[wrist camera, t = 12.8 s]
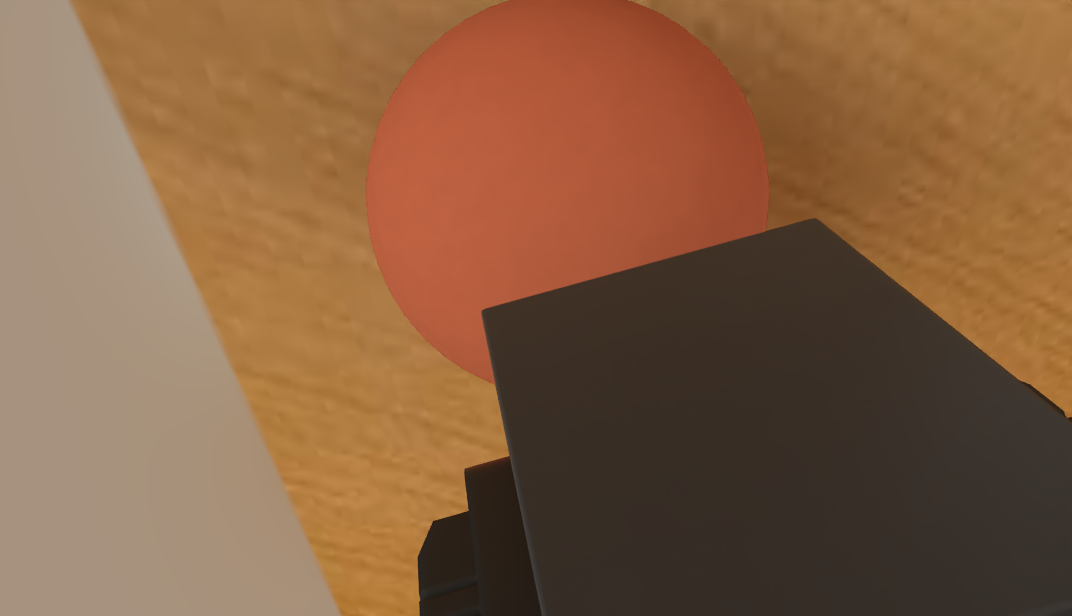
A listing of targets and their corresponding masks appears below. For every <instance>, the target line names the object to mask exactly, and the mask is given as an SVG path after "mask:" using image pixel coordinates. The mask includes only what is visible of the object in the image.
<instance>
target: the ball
mask: <svg viewBox="0 0 1072 616" xmlns="http://www.w3.org/2000/svg"><path fill="white" fill-rule="evenodd" d="M366 207H367V216H368V224H369V231H370V239H371V242H372V246H373V250H374V253H375V257H376V260H377V264H378V266H379V268H380V270H381V273H382V275H383V277H384V279H385V282H386V284H387V286H388V288H389V290H390V292H391V294H392V296H393V298H394V299H395V301H396V302H397V304H398V306H399V307H400V309H401V311H402V312H403V314H404V315H405V316H406V318H407V319H408V320H409V321H410V322H411V324H412V325H413V326H414V327H415V328H416V330H417V331H418V332H419V333H420V334H421V335H422V336H423V337H424V338H425V339H426V340H427V341H428V342H429V343H430V344H431V345H432V346H433V347H434V348H436V349H437V350H438V351H439V352H440V353H441V354H442V355H443V356H445V357H446V358H448V359H449V360H450V361H452V362H453V363H455V364H456V365H458V366H459V367H461V368H462V369H464V370H466V371H468V372H470V373H472V374H474V375H476V376H478V377H480V378H481V379H484V380H486V381H488V382H490V383H492V384H495V380H494V375H493V370H492V365H491V360H490V355H489V350H488V345H487V340H486V335H485V330H484V325H483V321H482V316H481V313H482V310H483V309H485V308H489V307H493V306H496V305H500V304H503V303H507V302H511V301H514V300H518V299H522V298H525V297H529V296H533V295H536V294H540V293H543V292H547V291H551V290H554V289H558V288H562V287H565V286H569V285H572V284H576V283H580V282H583V281H587V280H591V279H594V278H598V277H602V276H605V275H609V274H612V273H616V272H620V271H623V270H627V269H631V268H634V267H638V266H642V265H645V264H649V263H652V262H656V261H660V260H663V259H667V258H671V257H674V256H678V255H681V254H685V253H689V252H692V251H696V250H700V249H703V248H707V247H711V246H714V245H718V244H721V243H725V242H729V241H732V240H736V239H740V238H743V237H747V236H750V235H754V234H758V233H761V232H765V231H766V225H767V216H768V208H769V176H768V170H767V163H766V157H765V151H764V146H763V142H762V139H761V136H760V132H759V129H758V126H757V122H756V120H755V117H754V115H753V113H752V111H751V109H750V107H749V105H748V102H747V100H746V98H745V96H744V95H743V93H742V91H741V90H740V88H739V87H738V85H737V84H736V82H735V81H734V79H733V78H732V76H731V75H730V73H729V72H728V70H727V69H726V67H725V66H724V65H723V64H722V63H721V62H720V60H719V59H718V58H717V57H716V56H715V55H714V54H713V53H712V52H711V51H710V49H709V48H708V47H706V46H705V45H704V44H703V43H701V42H700V41H699V40H698V39H697V38H695V37H694V36H693V35H692V34H690V33H689V32H688V31H687V30H685V29H684V28H683V27H682V26H680V25H679V24H677V23H675V22H674V21H672V20H670V19H669V18H667V17H665V16H664V15H662V14H660V13H659V12H656V11H654V10H652V9H649V8H647V7H644V6H642V5H639V4H637V3H634V2H631V1H627V0H509V1H507V2H504V3H501V4H498V5H495V6H492V7H490V8H488V9H486V10H484V11H482V12H480V13H478V14H476V15H474V16H472V17H470V18H468V19H466V20H464V21H463V22H462V23H460V24H459V25H457V26H456V27H454V28H453V29H451V30H450V31H448V32H447V33H445V34H444V35H443V36H442V37H441V38H439V39H438V40H437V41H436V42H435V43H434V44H433V45H432V46H431V47H430V48H428V49H427V50H426V51H425V52H424V53H423V54H422V55H421V56H420V58H419V59H418V60H417V61H416V62H415V64H414V65H413V66H412V67H411V68H410V70H409V71H408V72H407V73H406V74H405V76H404V77H403V79H402V81H401V82H400V84H399V85H398V87H397V88H396V90H395V92H394V93H393V95H392V96H391V98H390V101H389V103H388V105H387V107H386V109H385V112H384V114H383V116H382V118H381V120H380V123H379V126H378V129H377V133H376V136H375V139H374V143H373V146H372V150H371V153H370V159H369V166H368V172H367V179H366Z"/></svg>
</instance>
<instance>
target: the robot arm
mask: <svg viewBox="0 0 1072 616" xmlns="http://www.w3.org/2000/svg"><path fill="white" fill-rule="evenodd" d="M1019 381H1020V380H1019ZM1021 382H1022V381H1021ZM1022 383H1023V384H1024V385H1026V386H1027V387H1028V388H1029V389H1031V390H1032V391H1033V392H1034V393H1036V394H1037V395H1038V396H1039V397H1041V398H1042V399H1043V400H1044V401H1046V402H1047V403H1048V404H1049V405H1051V406H1052V407H1053V408H1054V409H1056V410H1057V411H1058V412H1059V413H1061V414H1062V415H1063V416H1064V417H1066V416H1065V414H1064V411H1063V410H1062V409H1060V408H1059V407H1058V406H1056V405H1055V404H1054V403H1053V402H1051V401H1050V400H1049V399H1048V398H1046V397H1045V396H1044V395H1043V394H1041V393H1040V392H1039V391H1038V390H1036V389H1035V388H1034V387H1033V386H1031V385H1030V384H1027V383H1025V382H1022ZM1066 418H1067V417H1066ZM1067 419H1068V420H1069V421H1071V422H1072V417H1070V418H1067ZM464 474H465V483H466V492H467V500H468V508H469V511H467V512H464V513H460V514H457V515H453V516H450V517H446V518H443V519H439V520H435V521H433V523H432V525H431V527H430V530H429V532H428V534H427V537H426V539H425V541H424V544H423V546H422V548H421V551H420V553H419V555H418V578H419V595H420V600H421V601H419V606H420V616H542V614H541V609H540V604H539V599H538V594H537V589H536V584H535V579H534V575H533V570H532V565H531V560H530V555H529V550H528V545H527V540H526V535H525V530H524V525H523V520H522V515H521V510H520V505H519V500H518V495H517V490H516V485H515V480H514V475H513V470H512V465H511V460H510V456H508V457H504V458H501V459H497V460H494V461H490V462H487V463H483V464H479V465H476V466H472V467H469V468H465V471H464Z"/></svg>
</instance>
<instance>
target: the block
mask: <svg viewBox="0 0 1072 616" xmlns="http://www.w3.org/2000/svg"><path fill="white" fill-rule="evenodd" d="M481 316H482V321H483V325H484V330H485V335H486V340H487V345H488V350H489V355H490V360H491V365H492V370H493V375H494V380H495V385H496V390H497V395H498V400H499V405H500V410H501V415H502V420H503V425H504V430H505V435H506V440H507V445H508V450H509V455H510V460H511V465H512V470H513V475H514V480H515V485H516V490H517V495H518V500H519V505H520V510H521V515H522V520H523V525H524V530H525V535H526V540H527V545H528V550H529V555H530V560H531V565H532V570H533V575H534V579H535V584H536V589H537V594H538V599H539V604H540V609H541V614H542V616H1072V422H1071V421H1069V420H1068V419H1067V418H1066V417H1064V416H1063V415H1062V414H1061V413H1059V412H1058V411H1057V410H1056V409H1054V408H1053V407H1052V406H1051V405H1049V404H1048V403H1047V402H1046V401H1044V400H1043V399H1042V398H1041V397H1039V396H1038V395H1037V394H1036V393H1034V392H1033V391H1032V390H1031V389H1029V388H1028V387H1027V386H1026V385H1024V384H1023V383H1022V382H1021V381H1019V380H1018V379H1017V378H1016V377H1014V376H1013V375H1012V374H1011V373H1009V372H1008V371H1007V370H1006V369H1004V368H1003V367H1002V366H1001V365H999V364H998V363H997V362H996V361H994V360H993V359H992V358H991V357H989V356H988V355H987V354H986V353H984V352H983V351H982V350H981V349H979V348H978V347H977V346H976V345H974V344H973V343H972V342H971V341H969V340H968V339H967V338H966V337H964V336H963V335H962V334H961V333H959V332H958V331H957V330H956V329H954V328H953V327H952V326H951V325H949V324H948V323H947V322H946V321H944V320H943V319H942V318H941V317H939V316H938V315H937V314H936V313H934V312H933V311H932V310H931V309H929V308H928V307H927V306H926V305H924V304H923V303H922V302H921V301H919V300H918V299H917V298H916V297H914V296H913V295H912V294H911V293H909V292H908V291H907V290H906V289H904V288H903V287H902V286H901V285H899V284H898V283H897V282H896V281H894V280H893V279H892V278H891V277H889V276H888V275H887V274H886V273H884V272H883V271H882V270H881V269H879V268H878V267H877V266H876V265H874V264H873V263H872V262H871V261H869V260H868V259H867V258H866V257H864V256H863V255H862V254H861V253H859V252H858V251H857V250H856V249H854V248H853V247H852V246H851V245H849V244H848V243H847V242H846V241H844V240H843V239H842V238H841V237H839V236H838V235H837V234H836V233H834V232H833V231H832V230H831V229H829V228H828V227H827V226H826V225H824V224H823V223H822V222H821V221H819V220H818V219H816V218H812V219H809V220H805V221H801V222H798V223H794V224H790V225H787V226H783V227H780V228H776V229H772V230H769V231H765V232H761V233H758V234H754V235H750V236H747V237H743V238H740V239H736V240H732V241H729V242H725V243H721V244H718V245H714V246H711V247H707V248H703V249H700V250H696V251H692V252H689V253H685V254H681V255H678V256H674V257H671V258H667V259H663V260H660V261H656V262H652V263H649V264H645V265H642V266H638V267H634V268H631V269H627V270H623V271H620V272H616V273H612V274H609V275H605V276H602V277H598V278H594V279H591V280H587V281H583V282H580V283H576V284H572V285H569V286H565V287H562V288H558V289H554V290H551V291H547V292H543V293H540V294H536V295H533V296H529V297H525V298H522V299H518V300H514V301H511V302H507V303H503V304H500V305H496V306H493V307H489V308H485V309H483V310H482V313H481Z"/></svg>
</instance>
